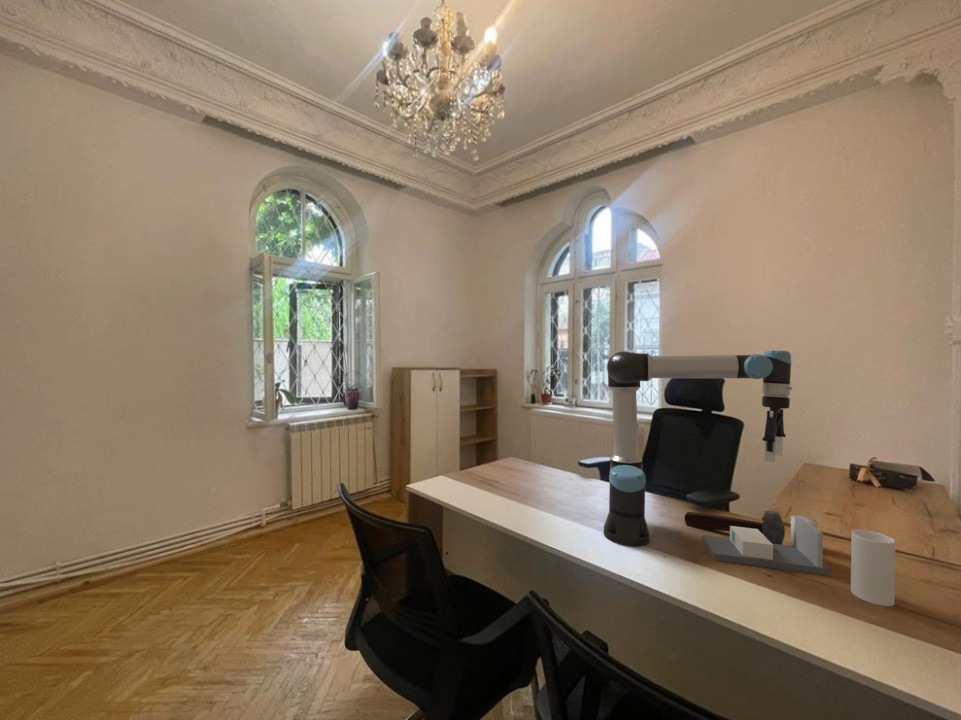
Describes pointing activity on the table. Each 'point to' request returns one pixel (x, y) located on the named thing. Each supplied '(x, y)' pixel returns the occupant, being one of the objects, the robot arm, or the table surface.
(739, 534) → the carton
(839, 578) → the table surface
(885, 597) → the cup
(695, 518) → the hammer
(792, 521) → the cream white shapes
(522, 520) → the table surface
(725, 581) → the table surface
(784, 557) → the grey base with uprights
